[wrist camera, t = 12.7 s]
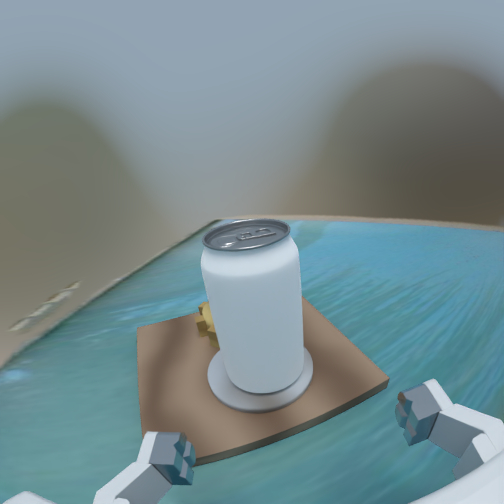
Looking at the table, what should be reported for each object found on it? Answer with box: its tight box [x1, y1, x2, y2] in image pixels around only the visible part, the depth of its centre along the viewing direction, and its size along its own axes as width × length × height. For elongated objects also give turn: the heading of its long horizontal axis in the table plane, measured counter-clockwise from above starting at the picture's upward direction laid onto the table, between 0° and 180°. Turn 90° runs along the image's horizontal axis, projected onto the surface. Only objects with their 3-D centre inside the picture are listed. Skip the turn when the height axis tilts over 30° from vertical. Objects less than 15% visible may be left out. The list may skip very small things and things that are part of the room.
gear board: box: [137, 296, 389, 467], centre depth 25 cm, size 20×19×6 cm
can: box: [201, 219, 304, 394], centre depth 20 cm, size 6×6×12 cm
